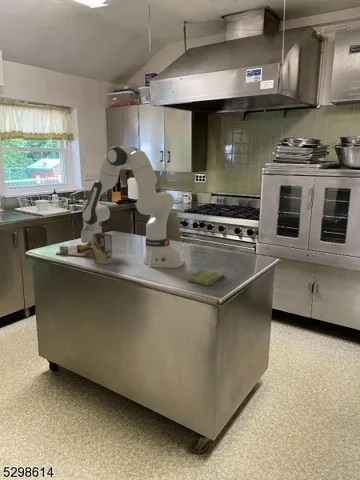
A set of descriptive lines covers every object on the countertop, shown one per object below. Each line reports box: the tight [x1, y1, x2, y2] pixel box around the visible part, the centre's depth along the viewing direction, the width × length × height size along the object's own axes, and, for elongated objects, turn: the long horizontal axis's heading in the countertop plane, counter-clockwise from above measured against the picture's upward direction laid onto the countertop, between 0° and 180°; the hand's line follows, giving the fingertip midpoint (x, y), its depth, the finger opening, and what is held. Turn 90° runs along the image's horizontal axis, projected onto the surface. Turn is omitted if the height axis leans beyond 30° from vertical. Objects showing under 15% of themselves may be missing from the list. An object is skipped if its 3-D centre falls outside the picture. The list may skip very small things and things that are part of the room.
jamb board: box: [55, 244, 94, 259], centre depth 220 cm, size 24×18×5 cm
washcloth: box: [187, 268, 225, 287], centre depth 176 cm, size 13×18×3 cm
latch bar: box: [75, 242, 90, 252], centre depth 223 cm, size 14×3×4 cm, turn 161°
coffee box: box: [92, 232, 114, 265], centre depth 200 cm, size 9×6×16 cm
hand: (92, 246), depth 226 cm, fingers closed
